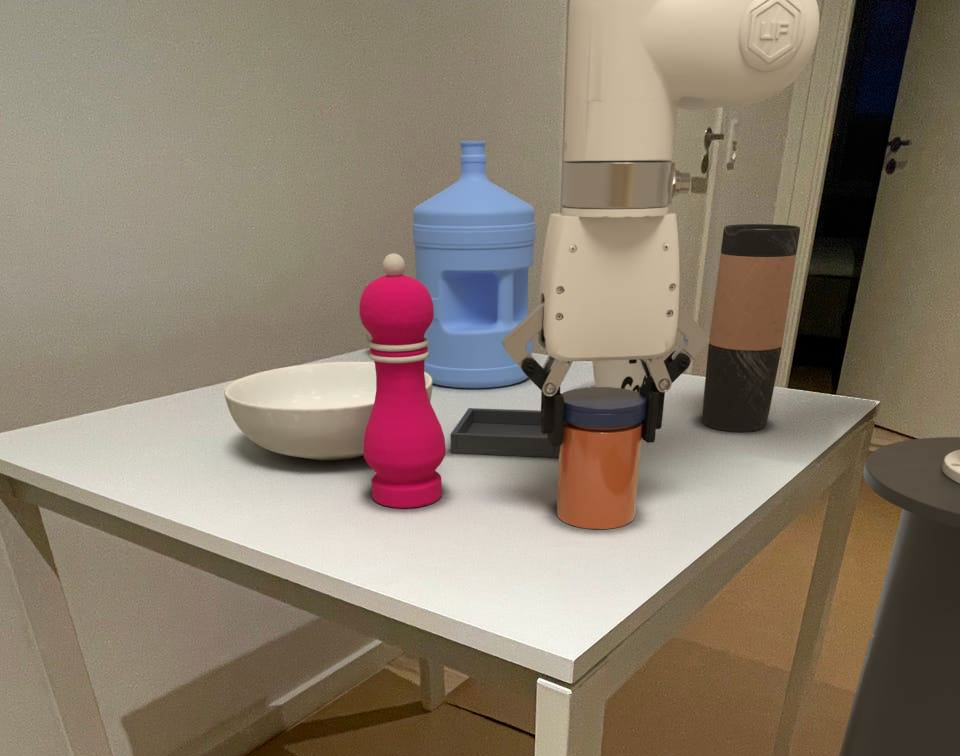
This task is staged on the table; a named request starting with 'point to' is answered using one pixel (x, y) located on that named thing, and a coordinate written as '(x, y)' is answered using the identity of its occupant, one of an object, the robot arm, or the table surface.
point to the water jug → (474, 275)
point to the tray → (501, 433)
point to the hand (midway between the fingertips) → (599, 438)
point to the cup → (619, 374)
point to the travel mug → (748, 324)
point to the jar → (598, 475)
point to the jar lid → (603, 407)
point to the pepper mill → (401, 391)
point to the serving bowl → (308, 408)
